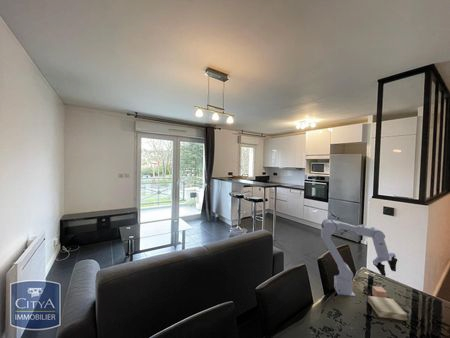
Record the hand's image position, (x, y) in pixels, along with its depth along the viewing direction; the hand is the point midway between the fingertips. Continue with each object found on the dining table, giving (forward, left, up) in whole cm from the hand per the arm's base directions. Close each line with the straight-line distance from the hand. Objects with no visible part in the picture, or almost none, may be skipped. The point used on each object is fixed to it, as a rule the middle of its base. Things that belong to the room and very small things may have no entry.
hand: (388, 273), depth 113 cm
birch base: (-7, -11, -15) cm, 20 cm away
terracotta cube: (-5, 0, -15) cm, 15 cm away
